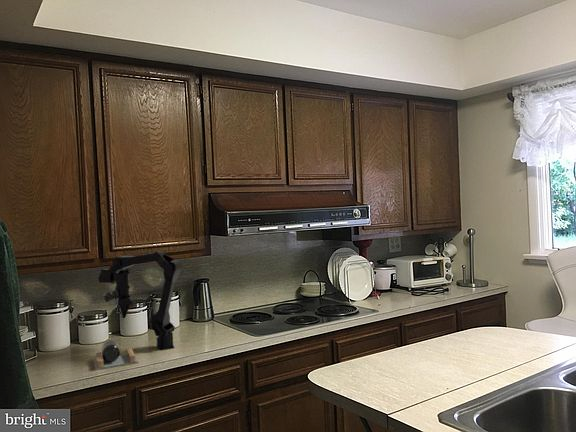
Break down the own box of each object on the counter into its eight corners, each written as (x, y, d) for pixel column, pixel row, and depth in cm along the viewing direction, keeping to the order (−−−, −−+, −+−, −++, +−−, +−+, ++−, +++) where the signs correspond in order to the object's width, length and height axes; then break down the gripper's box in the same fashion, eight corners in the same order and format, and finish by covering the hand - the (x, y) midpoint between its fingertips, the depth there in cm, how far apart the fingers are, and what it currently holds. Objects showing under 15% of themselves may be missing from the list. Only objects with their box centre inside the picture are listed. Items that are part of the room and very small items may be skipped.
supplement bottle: (106, 358, 198) (106, 367, 187) (98, 344, 197) (98, 353, 186) (121, 350, 201) (123, 358, 190) (114, 336, 199) (115, 344, 188)
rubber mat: (133, 354, 202) (133, 353, 202) (138, 363, 190) (138, 361, 190) (93, 360, 195) (93, 359, 195) (95, 370, 183) (95, 368, 183)
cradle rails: (131, 353, 201) (131, 347, 201) (135, 362, 189) (135, 355, 189) (96, 358, 195) (95, 353, 195) (98, 368, 183) (97, 361, 183)
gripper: (102, 282, 219) (103, 316, 220) (105, 288, 202) (106, 324, 203) (127, 280, 224) (128, 313, 224) (132, 285, 207) (133, 321, 207)
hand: (123, 317), depth 215 cm, fingers closed
